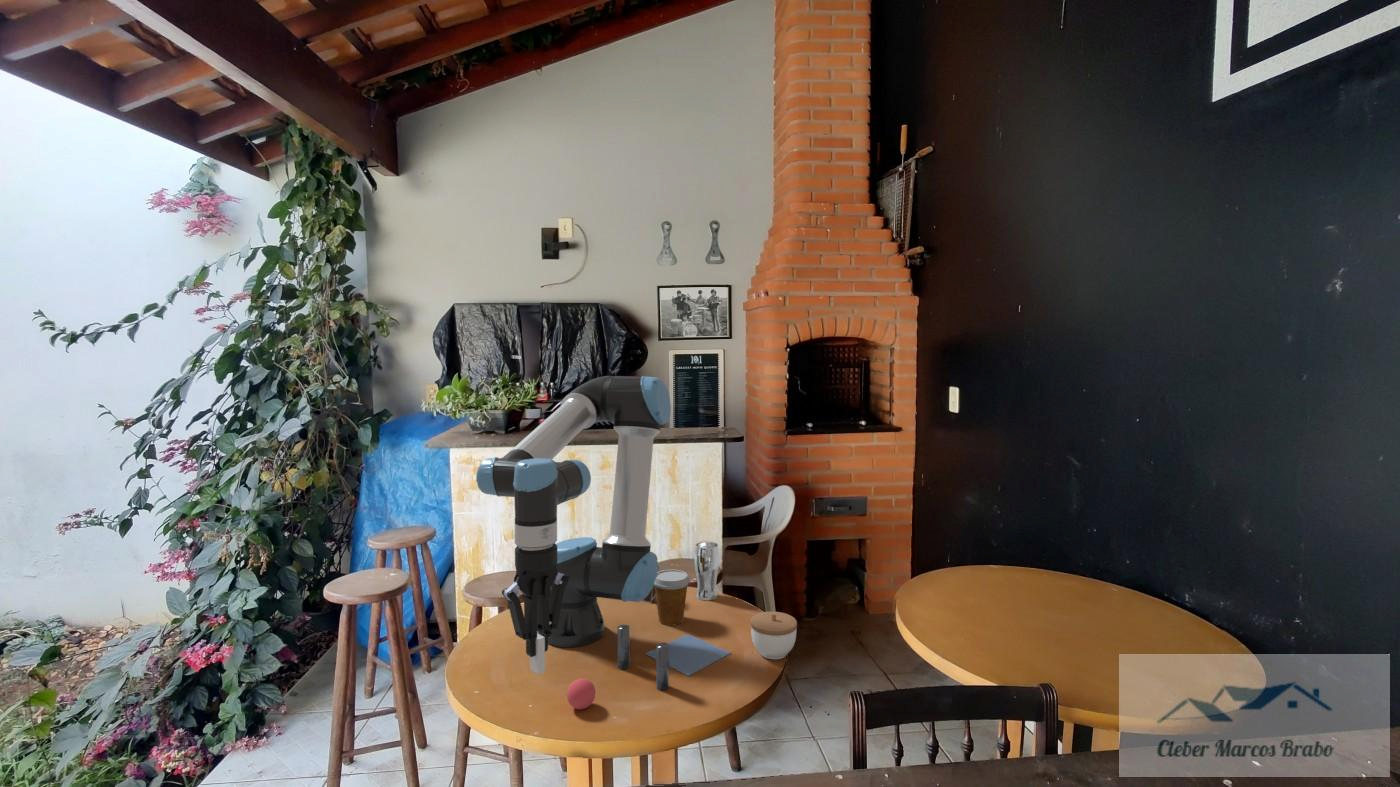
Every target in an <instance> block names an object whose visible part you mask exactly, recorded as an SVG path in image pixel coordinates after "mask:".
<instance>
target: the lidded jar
mask: <svg viewBox="0 0 1400 787" xmlns="http://www.w3.org/2000/svg"><path fill="white" fill-rule="evenodd" d="M749 621H750V634H751V640H752V643H753V646H754V647H755V649H756V651H758V652H759V653H760V655H761V656H762V657H763V658H764V659H768V660H781V659H784V658H785V657H786V656H787V655H788V654H789V653H790V652H791V651H792V650H793V648H794V646H795V642H796V639H797V628H798V621H797V618H795V617H794V616H792V615H790V614H788V613H786V612H780V611H763V612H758V613H756V614H754V615H753V616H752V617H751V618H750V620H749Z"/></svg>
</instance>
